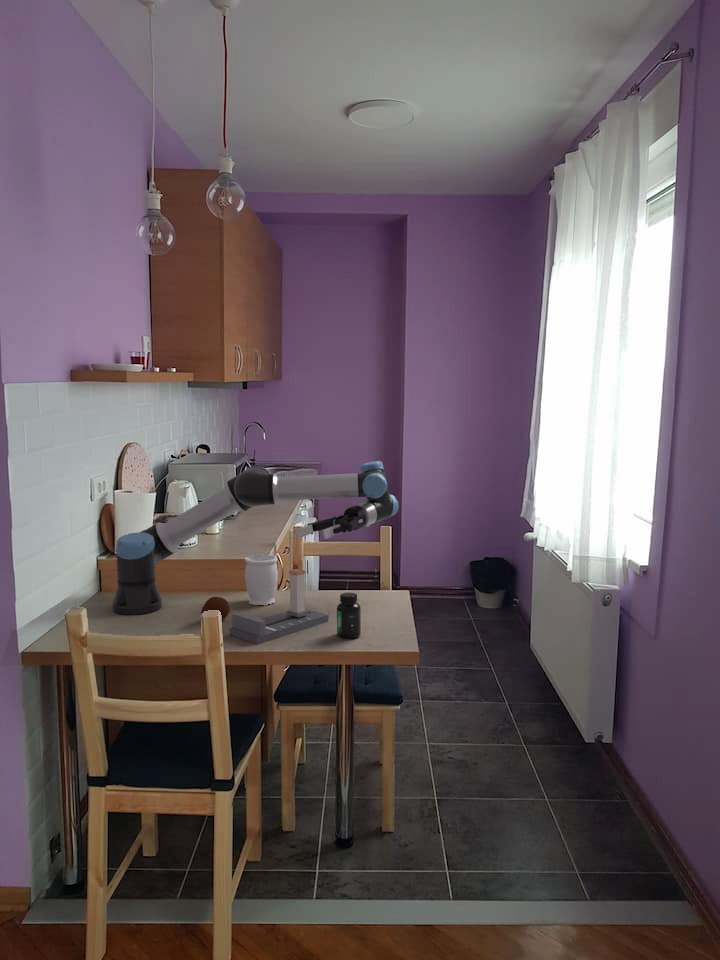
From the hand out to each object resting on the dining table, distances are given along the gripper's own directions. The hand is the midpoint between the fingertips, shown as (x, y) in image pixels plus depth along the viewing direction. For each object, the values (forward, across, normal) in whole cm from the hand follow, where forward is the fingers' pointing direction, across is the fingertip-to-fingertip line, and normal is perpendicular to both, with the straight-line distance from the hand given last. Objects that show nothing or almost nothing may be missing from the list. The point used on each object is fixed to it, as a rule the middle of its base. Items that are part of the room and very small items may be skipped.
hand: (309, 534), depth 238 cm
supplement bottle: (+8, -18, -28) cm, 34 cm away
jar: (+6, +26, -22) cm, 34 cm away
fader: (+10, +1, -22) cm, 24 cm away
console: (+18, 0, -24) cm, 29 cm away
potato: (+28, +18, -20) cm, 39 cm away
